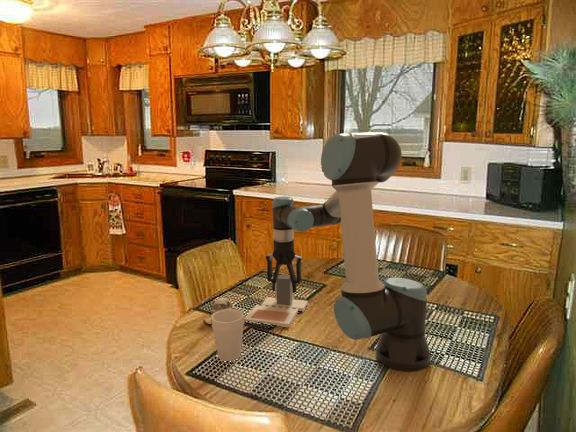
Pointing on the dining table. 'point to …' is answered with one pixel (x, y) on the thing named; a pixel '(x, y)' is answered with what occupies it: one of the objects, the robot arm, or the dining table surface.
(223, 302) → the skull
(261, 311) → the white flat piece
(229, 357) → the foam cup
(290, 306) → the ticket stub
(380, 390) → the dining table surface
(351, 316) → the robot arm
